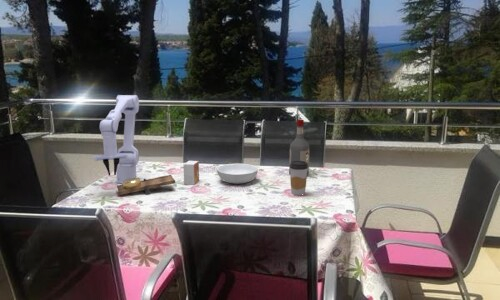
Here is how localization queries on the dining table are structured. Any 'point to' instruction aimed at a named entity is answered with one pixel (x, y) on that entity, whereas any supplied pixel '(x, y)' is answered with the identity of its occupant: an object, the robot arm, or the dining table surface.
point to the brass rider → (131, 183)
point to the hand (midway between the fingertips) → (112, 174)
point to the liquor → (299, 147)
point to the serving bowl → (237, 173)
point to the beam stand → (147, 189)
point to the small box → (191, 172)
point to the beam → (151, 182)
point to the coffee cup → (298, 177)
